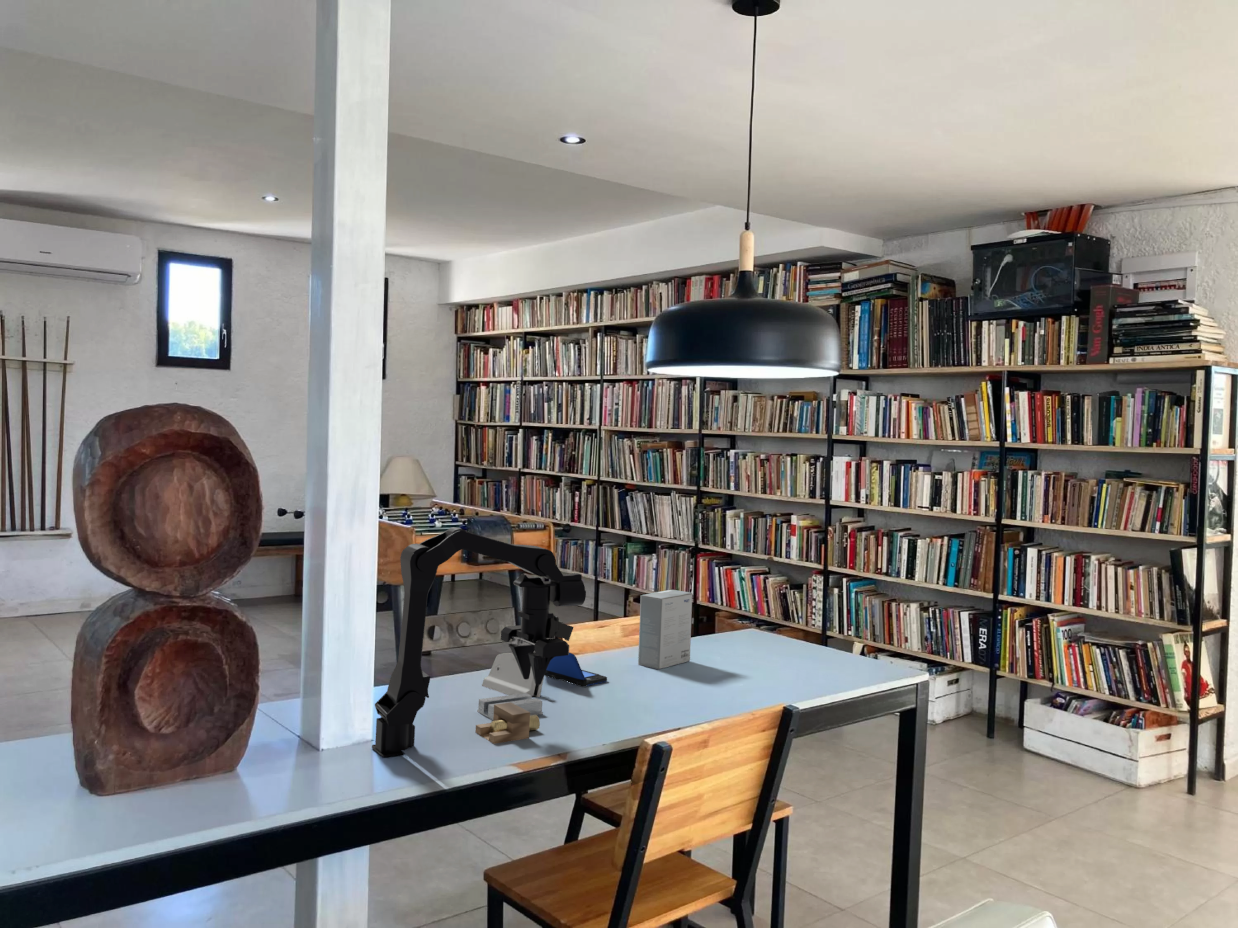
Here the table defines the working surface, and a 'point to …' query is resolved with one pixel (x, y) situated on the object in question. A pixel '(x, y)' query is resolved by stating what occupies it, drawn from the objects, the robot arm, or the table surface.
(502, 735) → the brown notched block
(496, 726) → the axle
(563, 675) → the handheld game console
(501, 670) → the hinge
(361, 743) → the table surface
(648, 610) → the hard drive box
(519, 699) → the v block
